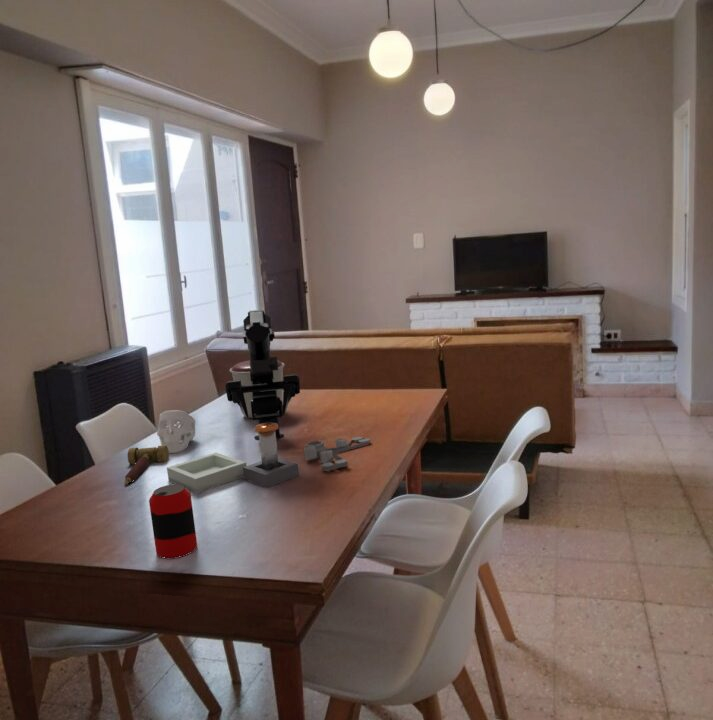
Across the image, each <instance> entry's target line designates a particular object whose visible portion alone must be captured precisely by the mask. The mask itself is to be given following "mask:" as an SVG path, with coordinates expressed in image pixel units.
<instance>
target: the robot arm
mask: <svg viewBox="0 0 713 720" xmlns="http://www.w3.org/2000/svg"><path fill="white" fill-rule="evenodd" d="M242 335H243V342H244V343H243V344H244V345H247V349H248V356H249V358H248V360H250V378H251V382H252V384H248V385H241V380H237V381H234V380H229V381H227V382H226V383H225V384H224V385H225V393H226V394H225V395H226V397H227V401H228V402H232V404H237V405H238V406H239V408H241V409H242V411H243V412H244V414H245V416H246V417H245V416H244V417H245V418H246V419H247V420H248V419H249V418H248V411H247V407H246V402H245V398H244V394H243V393H248V392H252V395H253V400H251V410H252V418H251V419H252V421H256V425H258V424H262V423H269V422H272V423H277V424H278V430H276V431H275V434H276V440H277V439H279V438H283V437H285V434H284V433H281V432H280V424H279V418H282V417H283V416H284V415H286V413H287V410H288V406H289V403H290V401H291V399H292V398H295V397H296V395H299V394H300V393H301V389H300V388H301V387H300V382H301V381H300V376H299V375H298V374H297V373H296V374H286V375H284V374H283V381H280V382H274V377H273V370H278V362H277V360H278V356H272V354H271V352H272V351H271V342H274V339H275V337H276V336H275V332H274V331H273V327H272V318H271V316H268V315H267V314H266V313H265V309H254V310H249V311H247V316H246V317H245V318H244V319H243V334H242ZM280 389H283V399H282V401H281V400H280V397H277V392H276V390H280ZM241 409H240V410H241ZM278 411H279V412H278ZM254 414H255V415H254ZM253 438H254V439H255V440H259V433H258V435H255V436H254V437H253Z"/></svg>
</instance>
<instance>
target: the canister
mask: <svg viewBox="0 0 713 720" xmlns="http://www.w3.org/2000/svg"><path fill="white" fill-rule="evenodd" d="M277 362H278V370H273V377H274V382H280V381H284V377H283V376H284V367H285V363H284V362H282V361H280V360H278V359H277ZM229 372H230V373H231V376H232V381H237V380H241V385H248V384H252V382H251V378H250V359H248V360H245V361H241V362H238V363H236V364H234V365H233V366H232V367H231V368H230V369H229ZM276 392H277V397H280V400H281V401H282V402H283V389H280V390H276ZM243 394H244V398H245V402H246V407H247V411H248V419H253V418H252V410H251V400H253V395H252V392H248V393H243ZM239 408H240V407H239ZM240 412H241V413H242V415H243V416H244V417H245V418H246V416H245V414H244V412H243V411H242V409H241V408H240ZM278 412H279V411H278ZM254 415H255V414H254Z"/></svg>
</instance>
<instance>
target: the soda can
mask: <svg viewBox="0 0 713 720" xmlns="http://www.w3.org/2000/svg"><path fill="white" fill-rule="evenodd" d="M148 504H149V509H150V518H151V524H152V532H153V539H154V546H155V553H156V555H157V556H159V557H160V556H161V557H160V558H162V557H165V558H164V559H167V558H171V559H176V558H175V557H179V556H182V557H184V556H183V555H185V556H187V555H186V554H188V553H190V552H191V553H193V552H194V551H195V550H196V548H197V546H198V540H197V533H196V523H195V519H194V518H195V517H194V511H193V502H192V494H191V492H190V490H188V489H186V488H185V487H184V486H183V485H177V484H167V485H163V486H160V487H158V488H156V489H155V490H153V492H152V494H151V496H150V497H149V500H148ZM194 549H195V550H194ZM193 550H194V551H193ZM192 551H193V552H192ZM191 553H190V554H191ZM188 555H189V554H188ZM179 558H180V557H179Z"/></svg>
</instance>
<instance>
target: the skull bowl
mask: <svg viewBox="0 0 713 720" xmlns="http://www.w3.org/2000/svg"><path fill="white" fill-rule="evenodd" d="M158 419H159V420H158V424H157V432H156V435H157V437H159V441H160V446H163V445H166V446H167V447H168V451H169V454H176V453H180V452H182V451H184V450H186V449H187V448H188V446H189V443H190V442H191V441H193V440H194V439H195V437H196V420H195V418H194V417H193V416H192V415H190V414H189V413H187V412H186V411H184V410H178V409H172V410H164V411H163V412H161V413H160V414H159V417H158Z"/></svg>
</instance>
